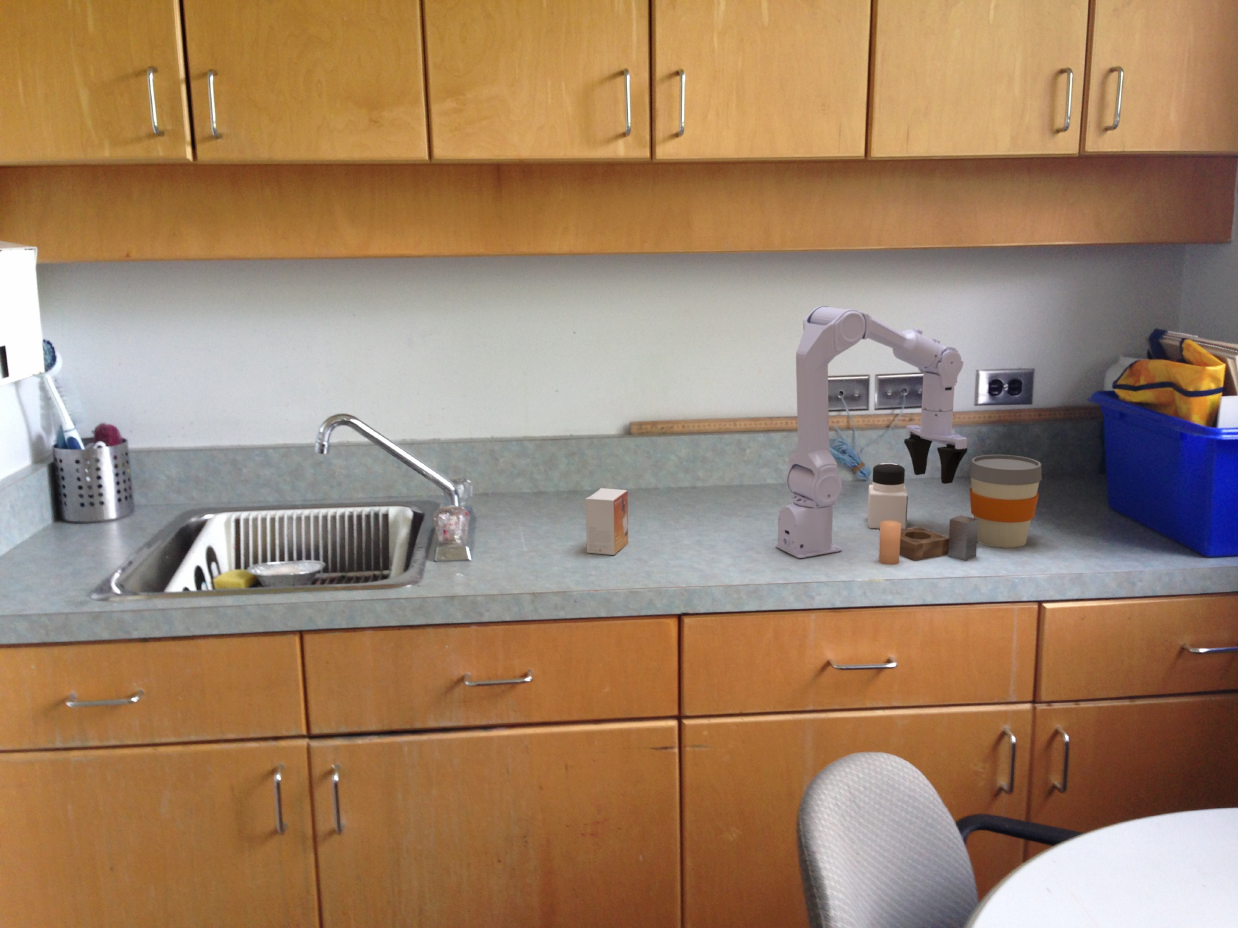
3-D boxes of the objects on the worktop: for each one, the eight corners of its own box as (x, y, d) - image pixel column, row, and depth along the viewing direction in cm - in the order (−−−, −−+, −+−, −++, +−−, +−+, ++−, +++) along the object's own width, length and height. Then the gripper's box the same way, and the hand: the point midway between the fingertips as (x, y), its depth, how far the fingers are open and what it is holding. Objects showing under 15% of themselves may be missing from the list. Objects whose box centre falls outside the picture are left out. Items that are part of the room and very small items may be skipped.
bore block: (914, 560, 183) (915, 544, 182) (885, 548, 190) (885, 532, 189) (949, 554, 186) (950, 538, 185) (919, 541, 193) (920, 526, 192)
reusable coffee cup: (996, 554, 186) (1002, 473, 182) (950, 535, 197) (955, 458, 193) (1051, 545, 190) (1058, 465, 186) (1003, 526, 201) (1008, 451, 198)
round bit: (887, 565, 181) (889, 527, 179) (874, 559, 184) (876, 522, 182) (903, 562, 182) (905, 524, 180) (890, 556, 185) (892, 519, 183)
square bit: (965, 561, 182) (967, 523, 181) (947, 556, 185) (949, 518, 183) (976, 556, 184) (978, 519, 183) (958, 552, 187) (961, 515, 185)
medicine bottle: (906, 530, 200) (909, 470, 198) (868, 528, 202) (870, 468, 199) (903, 519, 207) (906, 461, 204) (867, 518, 209) (869, 460, 206)
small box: (614, 556, 188) (613, 500, 186) (586, 553, 190) (584, 498, 188) (629, 543, 196) (628, 489, 193) (601, 540, 197) (600, 487, 195)
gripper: (981, 413, 191) (976, 484, 194) (927, 401, 204) (923, 468, 207) (951, 416, 188) (947, 488, 191) (899, 404, 201) (895, 472, 204)
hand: (933, 478), depth 199 cm, fingers open, 7 cm apart
